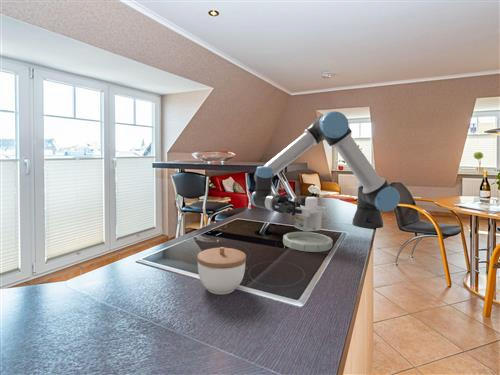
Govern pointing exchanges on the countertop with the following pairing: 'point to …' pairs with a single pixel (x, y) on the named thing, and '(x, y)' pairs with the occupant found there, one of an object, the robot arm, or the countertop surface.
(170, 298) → the countertop surface
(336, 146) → the robot arm
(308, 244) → the round tray
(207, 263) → the lidded bowl
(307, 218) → the container
